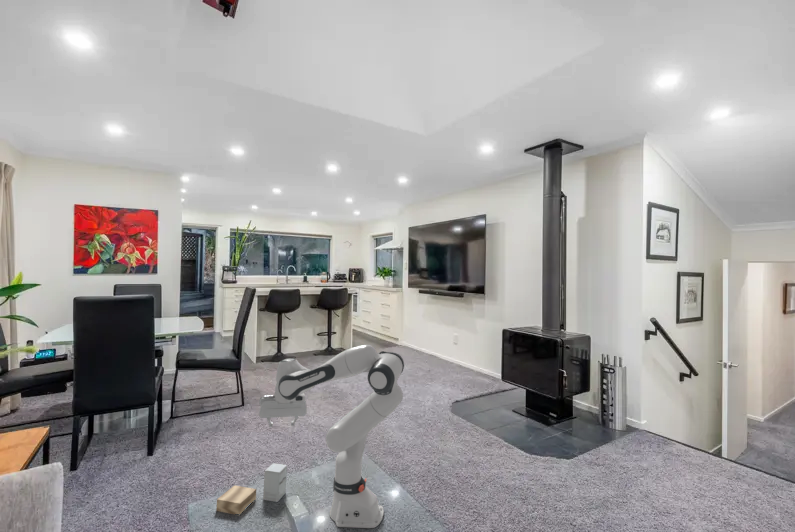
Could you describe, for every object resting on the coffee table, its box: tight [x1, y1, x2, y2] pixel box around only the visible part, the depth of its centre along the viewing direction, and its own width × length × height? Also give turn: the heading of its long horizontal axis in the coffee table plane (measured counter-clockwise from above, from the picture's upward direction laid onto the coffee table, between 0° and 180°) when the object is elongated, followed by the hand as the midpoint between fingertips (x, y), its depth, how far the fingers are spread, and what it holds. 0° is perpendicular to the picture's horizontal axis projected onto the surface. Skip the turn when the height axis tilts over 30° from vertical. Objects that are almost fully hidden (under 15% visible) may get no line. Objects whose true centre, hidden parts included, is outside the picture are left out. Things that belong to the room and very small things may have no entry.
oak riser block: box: [216, 485, 257, 515], centre depth 156 cm, size 11×11×5 cm
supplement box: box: [262, 462, 288, 503], centre depth 164 cm, size 7×7×13 cm
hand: (281, 426), depth 162 cm, fingers open, 8 cm apart
